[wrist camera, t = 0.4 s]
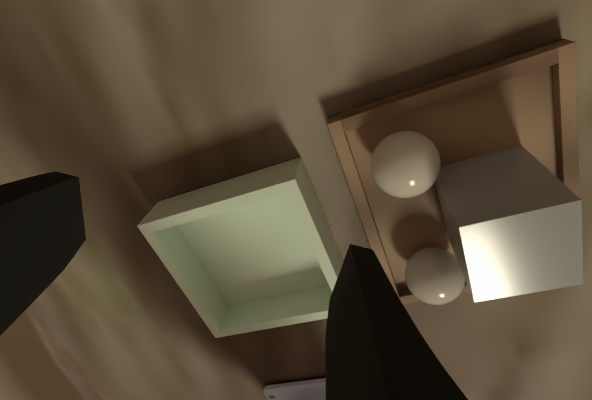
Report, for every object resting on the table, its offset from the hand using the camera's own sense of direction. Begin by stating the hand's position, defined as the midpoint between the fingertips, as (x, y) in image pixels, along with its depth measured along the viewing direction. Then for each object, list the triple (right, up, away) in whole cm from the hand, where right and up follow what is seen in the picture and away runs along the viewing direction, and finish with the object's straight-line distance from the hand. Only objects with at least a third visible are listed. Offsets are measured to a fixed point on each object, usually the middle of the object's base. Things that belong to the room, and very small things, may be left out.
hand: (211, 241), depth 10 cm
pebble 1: (+7, +3, +8) cm, 11 cm away
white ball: (+10, -2, +11) cm, 15 cm away
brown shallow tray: (+11, +1, +9) cm, 14 cm away
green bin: (0, -2, +12) cm, 12 cm away
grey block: (+12, +1, +9) cm, 14 cm away
